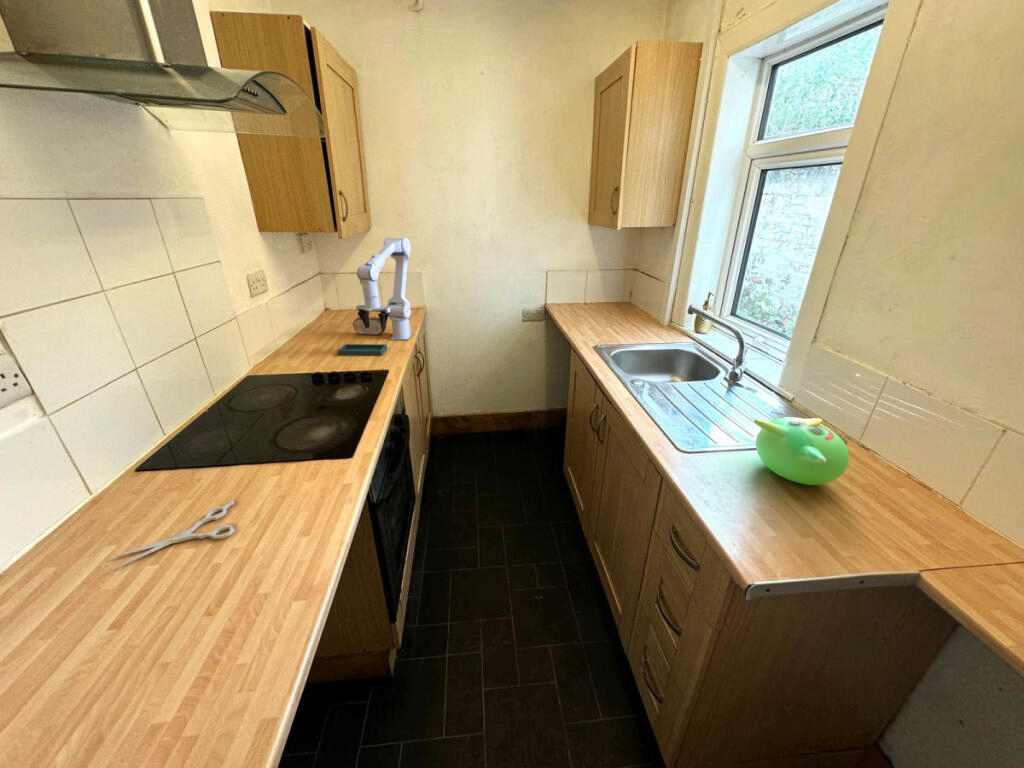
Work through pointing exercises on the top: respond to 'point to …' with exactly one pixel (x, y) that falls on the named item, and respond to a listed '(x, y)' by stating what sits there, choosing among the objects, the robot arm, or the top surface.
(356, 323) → the tin
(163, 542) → the scissors
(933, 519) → the top surface
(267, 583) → the top surface
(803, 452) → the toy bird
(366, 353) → the tray
